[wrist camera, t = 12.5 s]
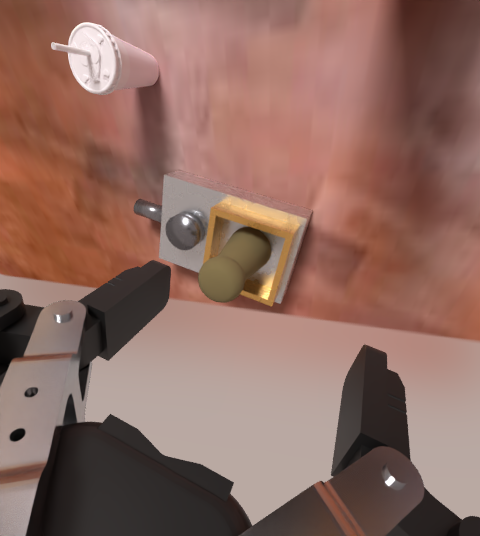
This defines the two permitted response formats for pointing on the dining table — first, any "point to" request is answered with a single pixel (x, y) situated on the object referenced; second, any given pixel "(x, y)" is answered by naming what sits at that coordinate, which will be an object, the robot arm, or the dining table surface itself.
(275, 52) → the dining table surface
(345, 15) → the dining table surface
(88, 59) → the smoothie
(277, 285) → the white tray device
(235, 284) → the cork
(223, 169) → the dining table surface
